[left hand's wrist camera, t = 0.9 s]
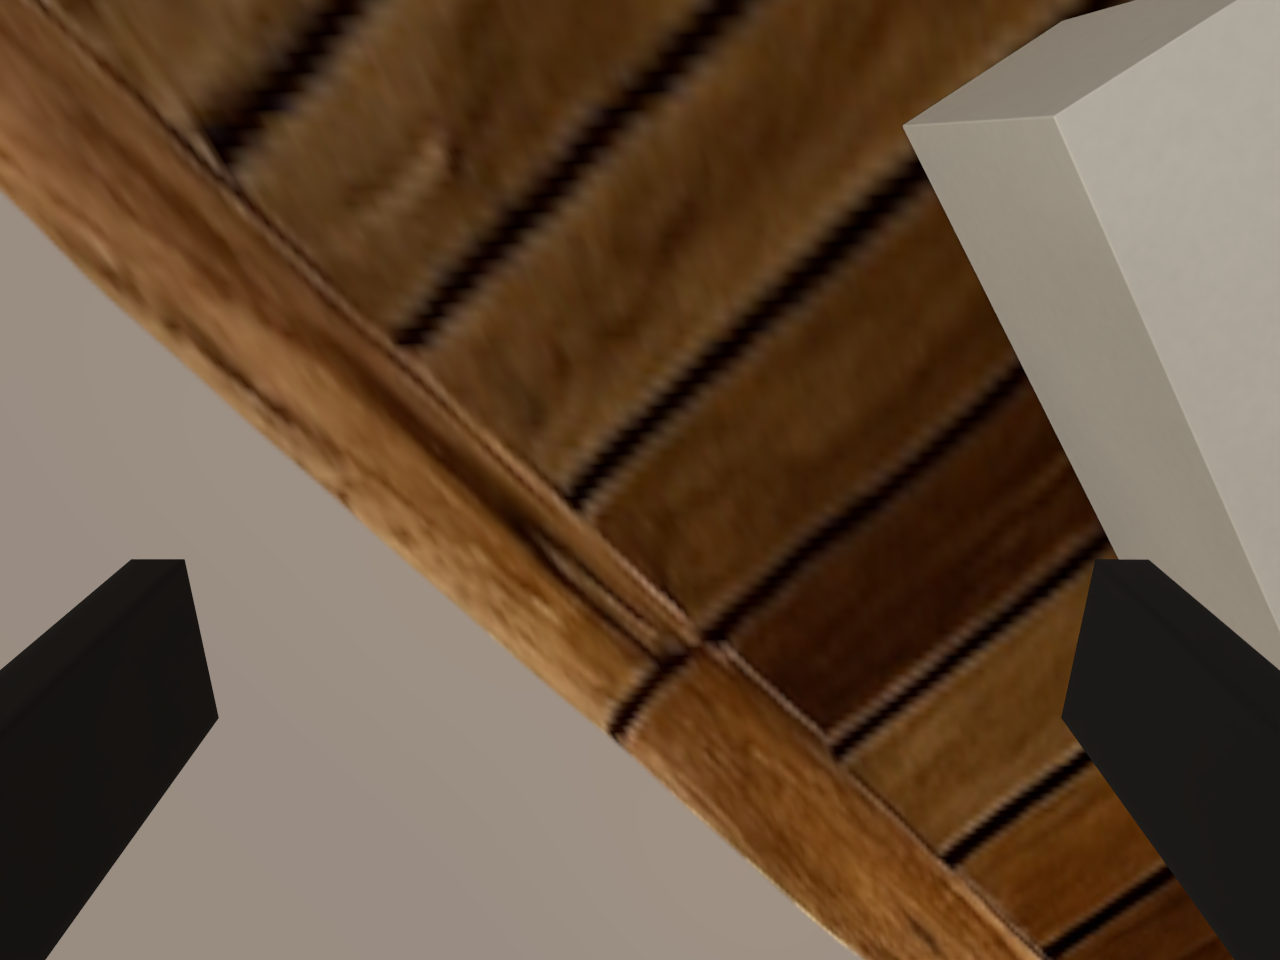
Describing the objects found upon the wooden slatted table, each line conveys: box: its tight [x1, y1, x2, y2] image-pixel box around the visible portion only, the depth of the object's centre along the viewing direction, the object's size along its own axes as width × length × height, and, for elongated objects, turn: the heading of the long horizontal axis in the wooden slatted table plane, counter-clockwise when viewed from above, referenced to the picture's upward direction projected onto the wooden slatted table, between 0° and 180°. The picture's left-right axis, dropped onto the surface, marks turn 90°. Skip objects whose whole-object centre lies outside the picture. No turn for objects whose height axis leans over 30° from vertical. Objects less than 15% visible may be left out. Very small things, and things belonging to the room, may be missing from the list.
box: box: [903, 0, 1280, 670], centre depth 27 cm, size 22×6×12 cm, turn 33°
